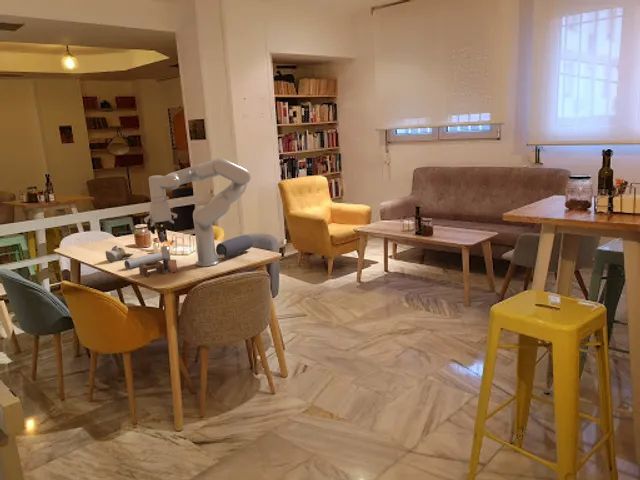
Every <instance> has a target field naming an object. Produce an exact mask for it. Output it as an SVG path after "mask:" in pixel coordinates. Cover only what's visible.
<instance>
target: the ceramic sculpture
mask: <svg viewBox="0 0 640 480" xmlns="http://www.w3.org/2000/svg"><path fill="white" fill-rule="evenodd" d="M133 255H134V253H130V252H129V253H126V251H125V248H123V247H120V246H119V247H118V246H117V245H115V246H113V247H112V249H111V250H105V257H106V258H105V259H106V260H107V262H109V263H114V262H115V261H121V260H123V259H128V258H130V257H132V256H133Z"/></svg>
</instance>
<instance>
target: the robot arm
mask: <svg viewBox="0 0 640 480" xmlns="http://www.w3.org/2000/svg"><path fill="white" fill-rule="evenodd" d="M217 176H218V177H219V176H221V177H222V178H224V179H227V180H229V181H231V182H230V184H229V185H228V186H226V187H225V188H224V189H223V190H221V191H220V192H218V193H217V194H215V195H213V196H212V197H211V199H210V201H209V203H207V204H206V205H198V206H197V207H195V208H194V210H193V212H192V219H193V226H194V233H195V235H194V236H195V243H196V244H195V245H196V253H197V261H195V266H196V267H212V266H215V265H216V266H217V264H219V263H220V260H219V259H224V254H221V255H220V254H218V255H217V253H216V246H215V237H214V226H213V224H214V223H215V222H216V221H218V220H219V219H220V218H222V217H223V216H225V215H226V214H227V213H228V212H229V211H230V208H231V205H232V204H233V203H235V202H236V201H237V200H239V199H240V198H241V197H242V196H243V195H244V193H246V190H247V186H248V183H249V182H251V181H250V180H251V173H250V171H249V170H248V169H245V167H244V168H243V167H242V166H239V165H237V164H235V163H233V162H231V161H229V160H227V159H225V158H222V157H219V158H215V159H212V160H209V161H205V162H202V163H197V164H196V165H193V166H189V167H186V168H183V169H179V170H177V171H172V172H169V173H168V174H166V175H159V174H158V175H151V176H149V177H148V184H149V185H148V186H149V193H150V201H151V202H150V203H149V215H147V216H146V217H144V218H143V220H144V222H145V224H147V225H148V226H149V227H150V228H149V229H150V233H151V234H152V235H155V234H156V230H155V223H162V222H169V231H170V232H174V229H175V227H174V224H175V222H176V221H177V218H178V214H177V213H174V212H172V211H171V207H170V204H169V201H168V199H169V200H170V197H169V196H167V193H166V190H176V189H178V188H179V187H180V186H182V185H184V184H187V183H192V182H201V181H206V180H208V179H211V178H215V177H217ZM172 216H173V217H172ZM149 219H150V222H149Z"/></svg>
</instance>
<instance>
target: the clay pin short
mask: <svg viewBox="0 0 640 480" xmlns="http://www.w3.org/2000/svg"><path fill="white" fill-rule="evenodd" d="M168 264H169V270H168V271H169V273H170V274H174V273H173V272H175V273H177V272H178V263H177V259H170V260H169V261H168Z"/></svg>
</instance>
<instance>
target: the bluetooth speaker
mask: <svg viewBox="0 0 640 480" xmlns="http://www.w3.org/2000/svg"><path fill="white" fill-rule="evenodd" d="M253 245H254V242H253V239H252V237H251V235H249V234H244V235H240V236H236V237H233V238H230V239H227V240H224V241H222V242H219V243H218V244H217V245H216V246H215V254H217V255H218V254H220V255H221V254H224V258H234V257H237V256H239V255H242V254H243V252H245V251H247V250H250V249H251V248H252V247H253ZM224 258H223V259H224Z"/></svg>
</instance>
